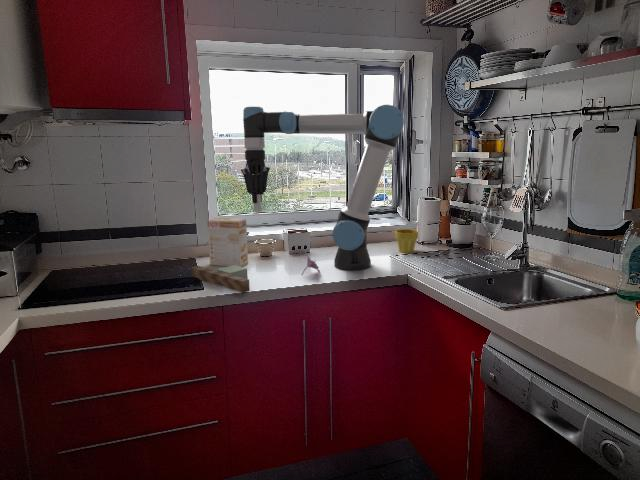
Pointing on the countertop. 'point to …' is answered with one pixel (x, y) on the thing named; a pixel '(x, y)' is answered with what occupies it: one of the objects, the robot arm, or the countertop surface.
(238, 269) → the sage block
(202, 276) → the walnut plank
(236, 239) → the coffeecake box
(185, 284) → the countertop surface
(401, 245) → the plant pot
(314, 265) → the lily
